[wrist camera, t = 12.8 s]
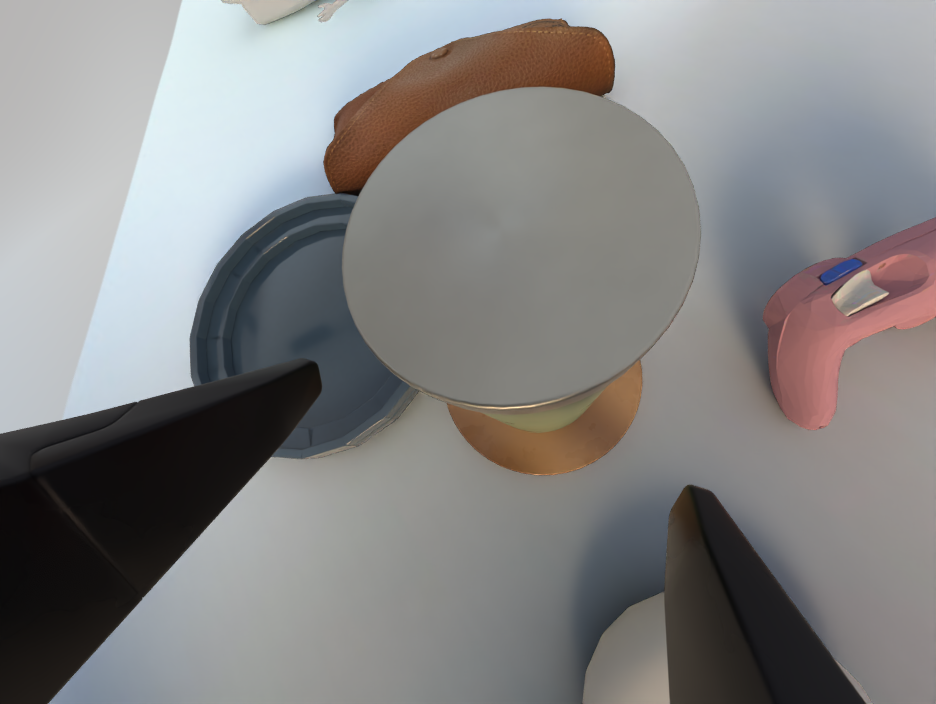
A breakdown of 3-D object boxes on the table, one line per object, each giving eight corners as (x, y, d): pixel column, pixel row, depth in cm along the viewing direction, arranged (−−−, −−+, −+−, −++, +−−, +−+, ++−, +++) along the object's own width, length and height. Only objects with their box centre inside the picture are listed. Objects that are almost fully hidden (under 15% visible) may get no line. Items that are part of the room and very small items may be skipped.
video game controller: (935, 294, 17) (1054, 143, 12) (1060, 363, 14) (1288, 197, 9) (724, 366, 19) (755, 255, 14) (795, 444, 15) (869, 336, 10)
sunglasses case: (564, 7, 24) (591, -82, 18) (593, 119, 26) (627, 74, 19) (326, 118, 27) (274, 75, 20) (365, 214, 28) (328, 202, 22)
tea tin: (551, 461, 17) (545, 500, 5) (453, 385, 19) (280, 281, 7) (626, 358, 18) (788, 162, 5) (523, 294, 20) (471, 46, 7)
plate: (324, 518, 20) (300, 526, 18) (178, 354, 25) (147, 346, 23) (501, 290, 21) (496, 274, 19) (324, 177, 26) (307, 156, 24)
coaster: (561, 519, 17) (561, 522, 17) (411, 393, 20) (407, 392, 20) (681, 353, 18) (686, 349, 17) (517, 256, 21) (516, 250, 20)
